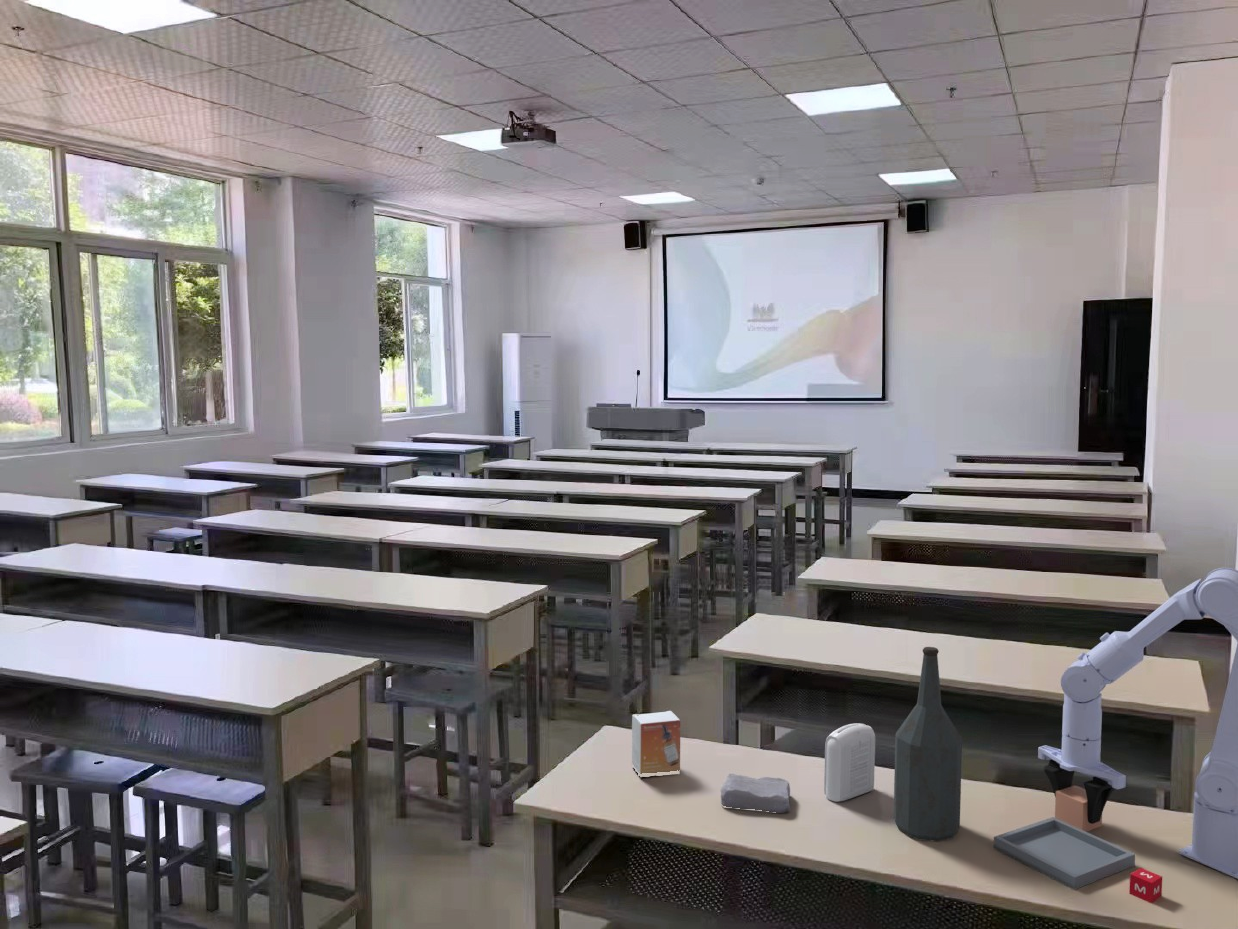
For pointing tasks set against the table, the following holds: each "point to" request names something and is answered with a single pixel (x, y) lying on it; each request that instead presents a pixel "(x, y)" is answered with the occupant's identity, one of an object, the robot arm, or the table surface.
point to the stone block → (756, 793)
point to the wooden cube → (1074, 808)
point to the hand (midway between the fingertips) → (1078, 815)
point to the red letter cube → (1145, 885)
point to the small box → (656, 742)
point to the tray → (1064, 852)
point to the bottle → (928, 763)
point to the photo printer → (849, 762)
